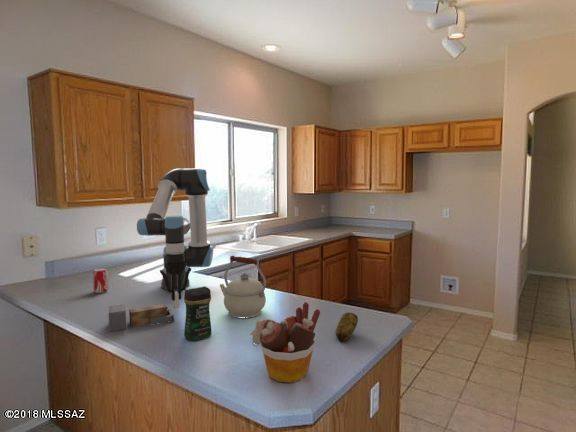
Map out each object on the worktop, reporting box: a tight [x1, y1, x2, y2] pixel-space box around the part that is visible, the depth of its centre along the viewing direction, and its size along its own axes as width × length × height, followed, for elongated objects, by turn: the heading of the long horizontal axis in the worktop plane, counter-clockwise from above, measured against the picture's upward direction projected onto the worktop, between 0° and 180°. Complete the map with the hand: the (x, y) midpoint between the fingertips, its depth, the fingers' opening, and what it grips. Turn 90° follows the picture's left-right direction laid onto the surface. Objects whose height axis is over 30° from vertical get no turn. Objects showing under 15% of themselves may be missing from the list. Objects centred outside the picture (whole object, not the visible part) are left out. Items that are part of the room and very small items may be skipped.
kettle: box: [219, 255, 267, 319], centre depth 165 cm, size 25×18×25 cm
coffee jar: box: [183, 285, 213, 342], centre depth 139 cm, size 10×8×19 cm
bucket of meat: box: [255, 301, 321, 384], centre depth 112 cm, size 20×16×20 cm
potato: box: [335, 312, 359, 342], centre depth 140 cm, size 8×13×8 cm, turn 135°
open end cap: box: [150, 308, 175, 325], centre depth 157 cm, size 9×9×2 cm
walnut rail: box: [128, 303, 168, 328], centre depth 154 cm, size 14×4×6 cm, turn 121°
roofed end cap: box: [108, 303, 127, 332], centre depth 150 cm, size 6×9×7 cm
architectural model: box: [249, 326, 261, 345], centre depth 136 cm, size 3×7×7 cm, turn 144°
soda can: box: [92, 267, 109, 294], centre depth 196 cm, size 7×7×12 cm
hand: (176, 307), depth 159 cm, fingers closed
